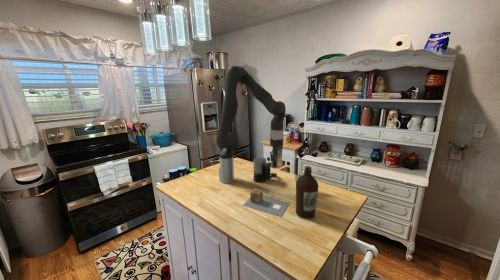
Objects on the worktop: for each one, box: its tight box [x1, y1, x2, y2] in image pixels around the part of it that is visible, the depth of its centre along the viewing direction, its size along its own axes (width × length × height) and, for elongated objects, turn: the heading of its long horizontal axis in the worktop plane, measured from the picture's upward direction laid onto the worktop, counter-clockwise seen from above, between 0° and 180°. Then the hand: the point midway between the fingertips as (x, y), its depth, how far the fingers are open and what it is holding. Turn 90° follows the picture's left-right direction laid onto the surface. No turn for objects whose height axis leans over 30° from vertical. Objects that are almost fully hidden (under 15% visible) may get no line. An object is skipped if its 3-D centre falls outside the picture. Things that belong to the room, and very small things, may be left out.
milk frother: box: [252, 157, 278, 183], centre depth 143 cm, size 14×16×15 cm
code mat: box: [242, 195, 290, 217], centre depth 114 cm, size 22×14×1 cm, turn 62°
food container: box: [294, 173, 316, 183], centre depth 126 cm, size 12×6×10 cm, turn 62°
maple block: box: [270, 155, 283, 169], centre depth 121 cm, size 5×5×6 cm
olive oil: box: [295, 165, 319, 220], centre depth 102 cm, size 11×11×25 cm
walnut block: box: [249, 188, 264, 204], centre depth 116 cm, size 5×5×6 cm
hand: (276, 165), depth 121 cm, fingers closed on maple block, 5 cm apart
